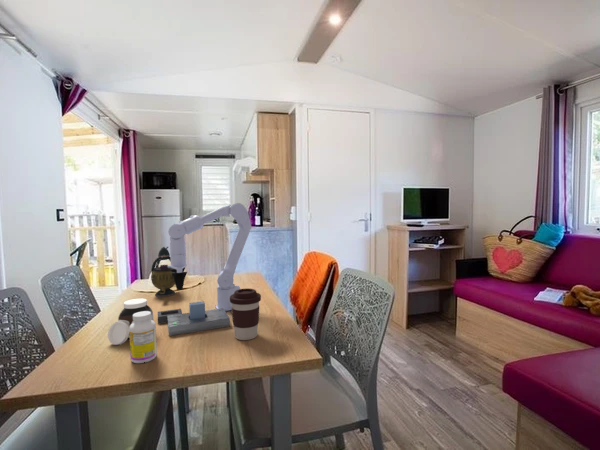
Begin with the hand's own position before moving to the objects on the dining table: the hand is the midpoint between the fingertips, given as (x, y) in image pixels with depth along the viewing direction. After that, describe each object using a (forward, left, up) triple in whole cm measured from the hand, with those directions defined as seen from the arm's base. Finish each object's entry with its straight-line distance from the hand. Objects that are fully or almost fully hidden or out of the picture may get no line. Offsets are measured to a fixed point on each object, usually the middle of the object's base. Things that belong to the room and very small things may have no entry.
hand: (179, 287), depth 130 cm
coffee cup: (-18, +36, -10) cm, 41 cm away
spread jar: (+16, +22, -10) cm, 29 cm away
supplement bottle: (+12, +39, -10) cm, 42 cm away
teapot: (+5, -27, -10) cm, 29 cm away
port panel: (-5, +19, -10) cm, 22 cm away
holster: (+4, +8, -10) cm, 13 cm away
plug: (-5, +19, -10) cm, 22 cm away
